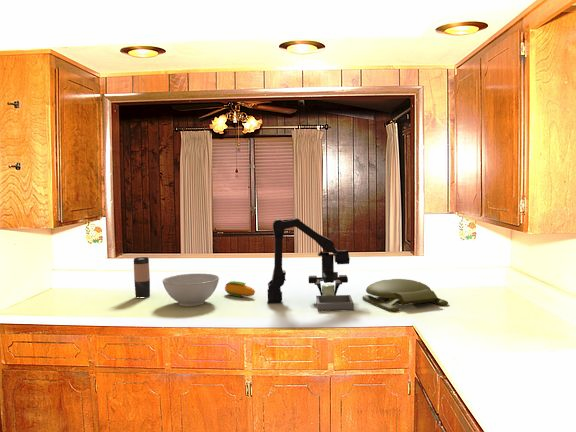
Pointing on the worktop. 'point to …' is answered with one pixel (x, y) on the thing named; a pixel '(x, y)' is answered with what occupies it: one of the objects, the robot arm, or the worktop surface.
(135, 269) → the travel mug
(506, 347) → the worktop surface
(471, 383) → the worktop surface
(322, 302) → the serving bin
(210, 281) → the decorative bowl
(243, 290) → the corn
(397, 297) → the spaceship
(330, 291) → the salad tub
